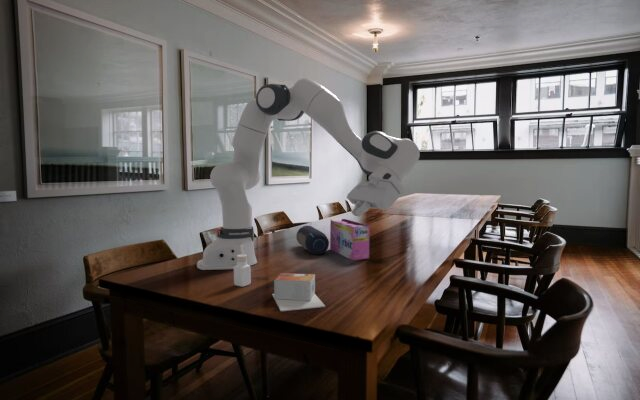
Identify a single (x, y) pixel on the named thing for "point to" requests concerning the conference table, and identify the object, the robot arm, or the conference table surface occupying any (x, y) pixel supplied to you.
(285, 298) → the small box
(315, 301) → the mat
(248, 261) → the robot arm
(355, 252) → the gum box
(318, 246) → the portable speaker
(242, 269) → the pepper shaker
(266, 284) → the conference table surface
